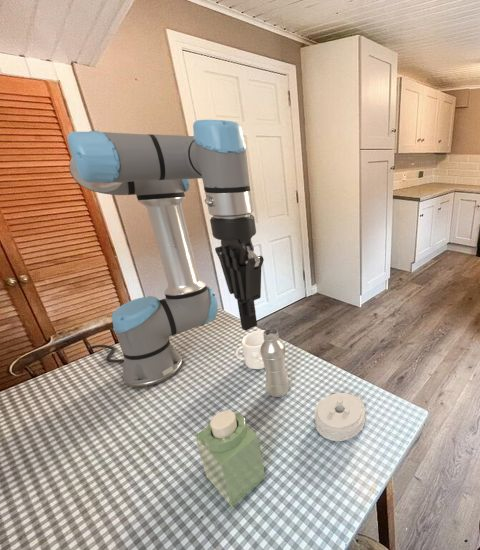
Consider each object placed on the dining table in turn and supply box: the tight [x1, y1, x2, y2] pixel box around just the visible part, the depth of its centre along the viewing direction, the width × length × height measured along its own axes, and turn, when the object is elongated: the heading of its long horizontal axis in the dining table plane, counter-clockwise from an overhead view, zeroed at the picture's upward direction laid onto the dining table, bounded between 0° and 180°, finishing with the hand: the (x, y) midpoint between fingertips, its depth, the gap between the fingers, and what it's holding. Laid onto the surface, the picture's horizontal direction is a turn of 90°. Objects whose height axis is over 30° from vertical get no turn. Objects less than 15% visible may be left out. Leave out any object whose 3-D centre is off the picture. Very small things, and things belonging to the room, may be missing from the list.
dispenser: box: [194, 412, 266, 508], centre depth 61 cm, size 10×8×14 cm
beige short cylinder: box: [209, 410, 237, 439], centre depth 58 cm, size 4×4×2 cm
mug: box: [234, 329, 265, 370], centre depth 97 cm, size 12×10×9 cm
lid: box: [313, 392, 366, 442], centre depth 76 cm, size 13×13×5 cm
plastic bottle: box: [260, 328, 291, 398], centre depth 83 cm, size 6×7×20 cm
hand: (249, 326), depth 64 cm, fingers closed
